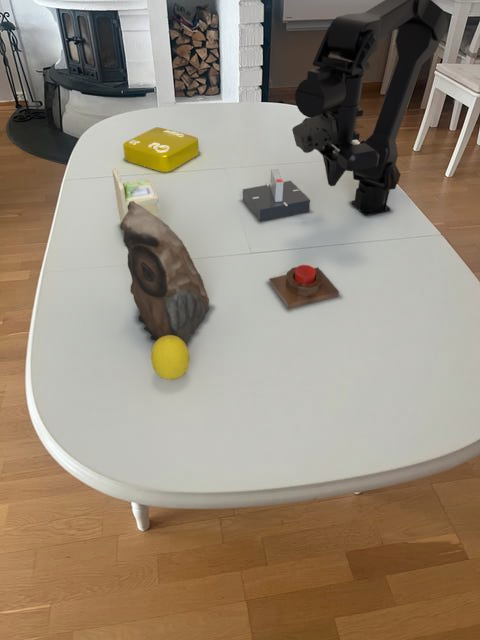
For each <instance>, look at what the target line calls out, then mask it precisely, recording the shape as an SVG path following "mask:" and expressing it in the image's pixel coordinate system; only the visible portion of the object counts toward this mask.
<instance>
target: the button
mask: <svg viewBox="0 0 480 640" xmlns="http://www.w3.org/2000/svg"><path fill="white" fill-rule="evenodd" d="M296 267H297V268H296V269H295V277H294V279H295V281H296V282H299V283H301V284H310V283H313V282H314V280H315V273H316V271H315V269H314V268H315V267H313V266H311V265H307V264H301V265H298V266H296Z"/></svg>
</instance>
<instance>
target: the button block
mask: <svg viewBox="0 0 480 640" xmlns="http://www.w3.org/2000/svg"><path fill="white" fill-rule="evenodd" d="M297 267H298V266H296V267H291V269H290V270H288V271H287V272H286V274H284V275H279V276H274V277H271V278H269V285H270V287H271V288H272V289H273V291H274V292H275V294H276V295H277V296H278V298H279V300H280V301H281V302H282V303H283V305H284V306H285V308H286V310H291V309H296V308H299V307H303V306H306V305H310V304H314V303H319V302H322V301H326V300H330V299H334V298H338V297H339V294H340V291H339V290H338V289H337V287H335V285H334V284H333V283H332V282H331V281H330V279H329V278H328V277H327V276H326V275H325V274H324V272H323V271H322V270H321V269H320V268H319V267H313V268H314V269H315V271H316V273H315V280H314V282H313V283H310V284H301V283H299V282H296V281H295V279H294V277H295V269H296V268H297Z"/></svg>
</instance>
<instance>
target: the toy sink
mask: <svg viewBox="0 0 480 640" xmlns="http://www.w3.org/2000/svg"><path fill="white" fill-rule="evenodd" d="M111 170H112V178H113V183H114V190H115V197H116V204H117V209H118V215H119V221H120V223H121V222H122V220H123V218H124V217H125V215H126V214H127V212H128V205H129V202H131V201H134V202H135V203H136V204H138V205H140V206H142V207H143V208H144V209H146V210H147V211H148V212H150V213H151V214H153V215H154V216H156V217H157V218H159V214H158V202H159V196H158V194H157V192H156V190H155V188H154V186H153V183H152V181H151V180H150V179H140V180H136V181H125V182H123V181H122V178H121V176H120V173H119V170H118V169H117V168H112V169H111ZM122 232H123V233H124V231H123V230H122Z"/></svg>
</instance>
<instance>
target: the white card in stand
mask: <svg viewBox="0 0 480 640" xmlns="http://www.w3.org/2000/svg"><path fill="white" fill-rule="evenodd" d="M269 180H270V181H269V184H270V188H271V191H272V194H273V197H274V200H275V202H282V197H283V182H284V181H283V178H282V175H281V173H280V170H279V168H278V167H277V168H276V167H275V168H270V179H269Z"/></svg>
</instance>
